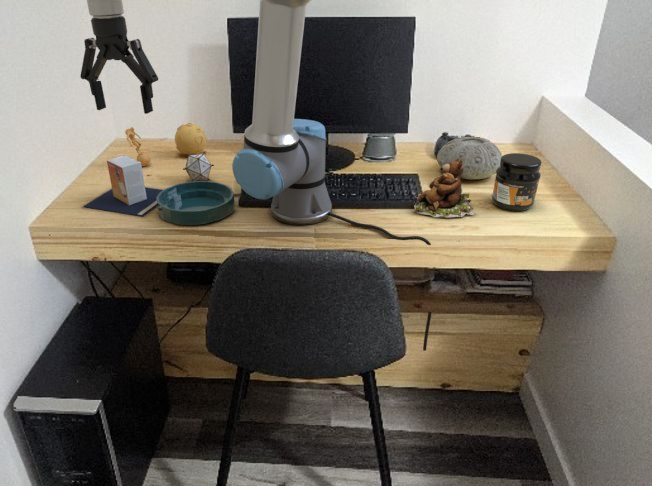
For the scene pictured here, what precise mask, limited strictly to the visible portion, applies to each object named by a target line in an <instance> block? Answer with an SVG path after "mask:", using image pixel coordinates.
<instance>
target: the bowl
mask: <svg viewBox="0 0 652 486" xmlns="http://www.w3.org/2000/svg"><path fill="white" fill-rule="evenodd" d="M191 181H192V180H191ZM191 181H185V182H180V183H176V184H173V185H171V186H168V187H166V188H164V189H162V190H163V191H161V192H160V193H159V194H158V196H157V197H156V199H157V212H158V216H159V217H160V218H161V219H162V220H164V221H165V222H169V223H171V224H175V225H183V226H198V225H205V224H206V225H207V224H210V223H213V222H214V223H215V222H218V221H220V220H222V219H224V218H226V217H229V216H230V214H232V213H233V212H234V210H235V207H236V204H235V203H236V202H235V193H234V190H233V188H232V187H230V186H229V185H227V184H225V183H221V182H218V181H211V180H210V181H208V180H195V181H192V182H191Z"/></svg>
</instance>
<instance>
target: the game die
mask: <svg viewBox="0 0 652 486" xmlns="http://www.w3.org/2000/svg"><path fill="white" fill-rule="evenodd" d="M186 156H187V159H186V163H185V166H184V167H183V168H182V170H183V171H185V172H186V173H187V175H188V176H189V178H190V179H191V181H190V182H192V181H204V180H207V181H211V179H210V178H209V177H210V174H211V169H212V167H215V164H212V163H211V162H210V160H209V159H208V157H207V156H206V150H204V151H203V153H198V154H196V155H189V154H187V155H186Z"/></svg>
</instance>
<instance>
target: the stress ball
mask: <svg viewBox="0 0 652 486" xmlns="http://www.w3.org/2000/svg"><path fill="white" fill-rule="evenodd" d="M174 143H175V146H176V149H177V151H178V152H180V154H183V155H186V156H187V154H189V155H197V154H201V152H203V150H204V149H205V148H206V146H207V135H206V133H205V131H204V130H203V128H202V127H201V126H199V125H197V124H195V123H191V122H188V123H182V124H181V125H180V126H178V127H177V129H176V132H175V134H174Z"/></svg>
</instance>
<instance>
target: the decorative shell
mask: <svg viewBox="0 0 652 486" xmlns="http://www.w3.org/2000/svg"><path fill="white" fill-rule="evenodd" d="M437 152H438V153H437V155H436V162H437V164H438V166H439V167H440V168H441V167H442V166H443V165H445V164H449V163H451V162H453V161H456V160H457V159H459V160H460V161H462V162H463V165H462V166H463V172H462V174H461V175H460V178H461V179H462V180H464V179H465V180H482V179H487V178H491V176H493V175H496V170H497V169H498V167H500V160H501V157H502V156H503V153H502V151H500V148H499V147H498V146H497V145H496V143H494V142H492V141H491V140H489V139H486V138H484V137H481V136H479V137H478V136H477V137H475V136H473V137H472V136H468V135H467V136H461V137H458V138H457V137H455V138H454V139H452V140H449V141H448V142H446V143H445V144H443V145H442V146H441V147H440V150H438V151H437ZM460 161H459V162H460Z"/></svg>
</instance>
